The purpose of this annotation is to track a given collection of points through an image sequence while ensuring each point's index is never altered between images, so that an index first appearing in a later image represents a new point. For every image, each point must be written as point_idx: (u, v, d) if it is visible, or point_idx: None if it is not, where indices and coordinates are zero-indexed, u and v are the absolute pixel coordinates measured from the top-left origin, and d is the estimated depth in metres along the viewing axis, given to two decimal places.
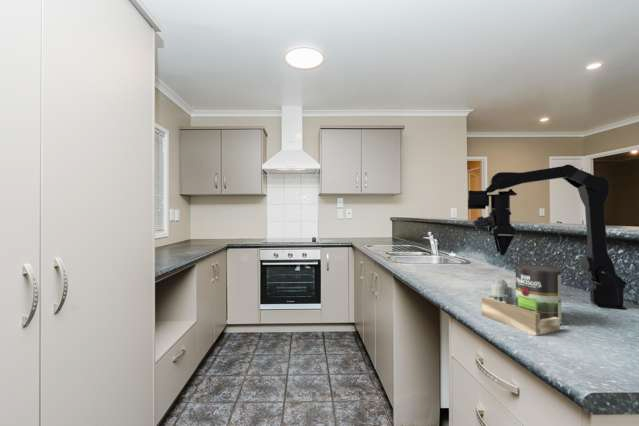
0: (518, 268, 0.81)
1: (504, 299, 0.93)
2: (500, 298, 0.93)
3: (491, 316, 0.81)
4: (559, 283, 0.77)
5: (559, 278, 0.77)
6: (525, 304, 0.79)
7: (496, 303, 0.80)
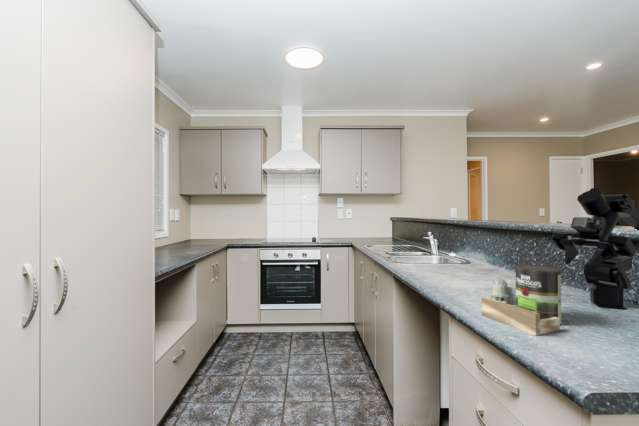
0: (518, 268, 0.81)
1: (505, 299, 0.93)
2: (502, 298, 0.93)
3: (491, 316, 0.81)
4: (559, 283, 0.77)
5: (559, 278, 0.77)
6: (525, 304, 0.79)
7: (496, 303, 0.80)
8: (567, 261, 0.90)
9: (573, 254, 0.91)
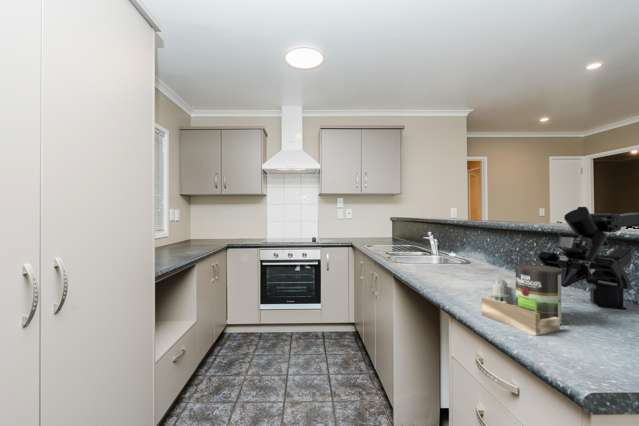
0: (518, 268, 0.81)
1: (505, 299, 0.93)
2: (501, 298, 0.93)
3: (491, 316, 0.81)
4: (559, 283, 0.77)
5: (559, 278, 0.77)
6: (525, 304, 0.79)
7: (496, 303, 0.80)
8: (563, 284, 0.85)
9: None
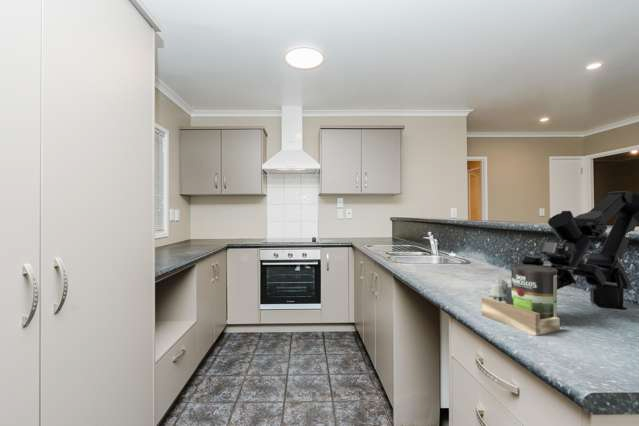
0: (514, 268, 0.81)
1: (503, 299, 0.94)
2: (499, 298, 0.93)
3: (491, 316, 0.81)
4: (555, 283, 0.76)
5: (554, 278, 0.76)
6: (521, 305, 0.79)
7: (496, 303, 0.80)
8: None
9: None
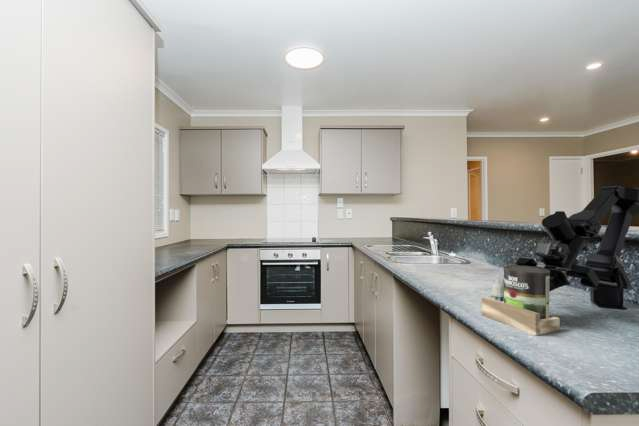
0: (506, 269, 0.80)
1: None
2: (501, 298, 0.93)
3: (491, 316, 0.81)
4: (547, 285, 0.75)
5: (547, 279, 0.75)
6: None
7: (496, 303, 0.80)
8: None
9: None
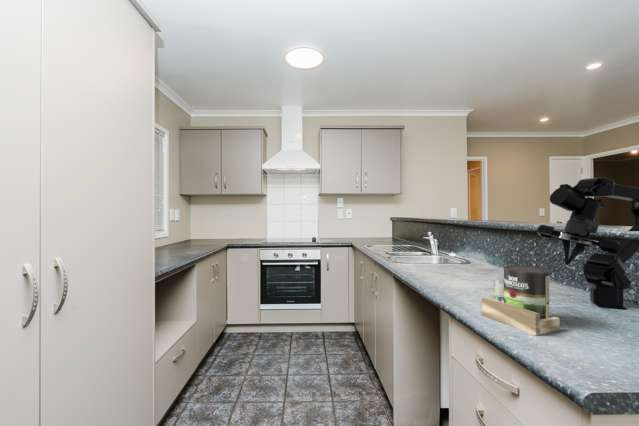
0: (506, 269, 0.80)
1: None
2: None
3: (491, 316, 0.81)
4: (547, 285, 0.75)
5: (547, 279, 0.75)
6: None
7: (496, 303, 0.80)
8: None
9: (569, 251, 0.91)
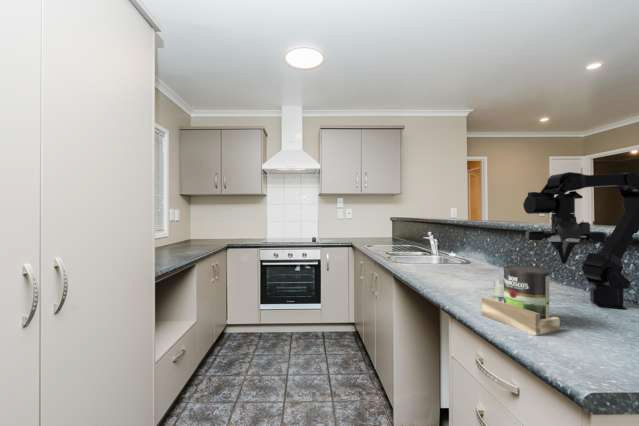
0: (506, 269, 0.80)
1: None
2: None
3: (491, 316, 0.81)
4: (547, 285, 0.75)
5: (547, 279, 0.75)
6: None
7: (496, 303, 0.80)
8: None
9: None
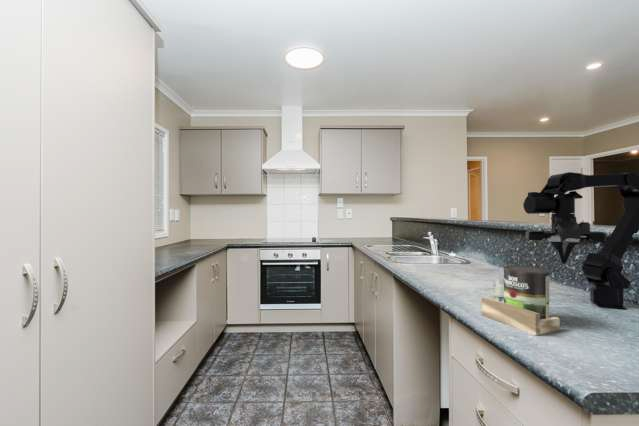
0: (506, 269, 0.80)
1: None
2: None
3: (491, 316, 0.81)
4: (547, 285, 0.75)
5: (547, 279, 0.75)
6: None
7: (496, 303, 0.80)
8: None
9: None
